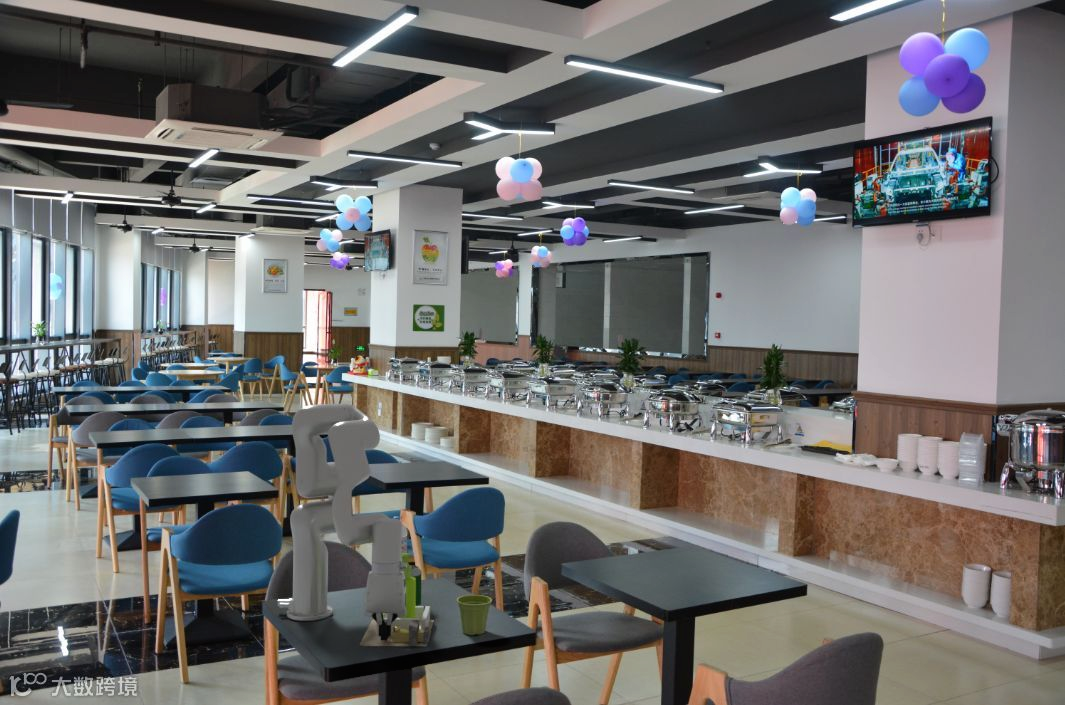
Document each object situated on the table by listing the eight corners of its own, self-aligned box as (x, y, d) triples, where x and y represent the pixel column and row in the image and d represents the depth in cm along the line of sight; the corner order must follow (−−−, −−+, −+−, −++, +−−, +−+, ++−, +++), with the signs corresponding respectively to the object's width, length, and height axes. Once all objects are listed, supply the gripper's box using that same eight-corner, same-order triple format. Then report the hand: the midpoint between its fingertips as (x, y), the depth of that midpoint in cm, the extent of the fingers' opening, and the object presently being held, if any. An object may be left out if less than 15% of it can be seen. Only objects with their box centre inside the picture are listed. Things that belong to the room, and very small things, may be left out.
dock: (376, 634, 222) (376, 619, 222) (383, 620, 234) (383, 605, 234) (425, 634, 222) (425, 619, 222) (429, 620, 234) (430, 606, 234)
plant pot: (468, 624, 233) (468, 592, 233) (497, 629, 229) (498, 597, 229) (449, 633, 225) (450, 601, 225) (479, 639, 220) (480, 606, 220)
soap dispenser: (385, 629, 226) (386, 554, 226) (403, 622, 232) (404, 549, 232) (402, 633, 223) (403, 557, 223) (419, 626, 229) (420, 552, 229)
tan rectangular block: (392, 641, 215) (392, 628, 215) (393, 638, 218) (393, 625, 218) (423, 642, 216) (423, 628, 216) (424, 638, 218) (424, 625, 218)
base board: (358, 647, 213) (359, 627, 213) (372, 621, 234) (372, 602, 234) (427, 647, 214) (427, 627, 214) (434, 621, 235) (435, 603, 235)
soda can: (423, 605, 249) (424, 565, 249) (417, 613, 242) (418, 571, 242) (398, 604, 250) (399, 564, 250) (392, 612, 243) (392, 570, 243)
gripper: (417, 564, 220) (415, 634, 220) (360, 563, 220) (358, 633, 220) (413, 572, 213) (411, 644, 213) (354, 570, 213) (352, 643, 213)
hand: (384, 638), depth 216 cm, fingers closed
